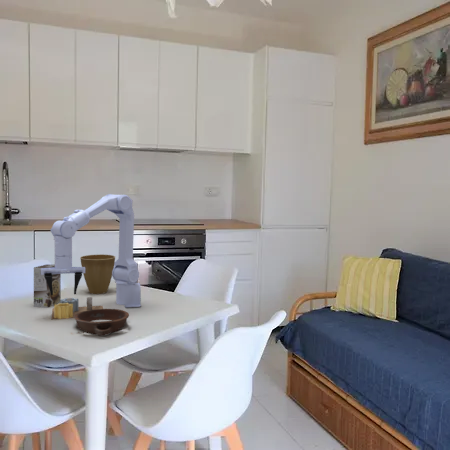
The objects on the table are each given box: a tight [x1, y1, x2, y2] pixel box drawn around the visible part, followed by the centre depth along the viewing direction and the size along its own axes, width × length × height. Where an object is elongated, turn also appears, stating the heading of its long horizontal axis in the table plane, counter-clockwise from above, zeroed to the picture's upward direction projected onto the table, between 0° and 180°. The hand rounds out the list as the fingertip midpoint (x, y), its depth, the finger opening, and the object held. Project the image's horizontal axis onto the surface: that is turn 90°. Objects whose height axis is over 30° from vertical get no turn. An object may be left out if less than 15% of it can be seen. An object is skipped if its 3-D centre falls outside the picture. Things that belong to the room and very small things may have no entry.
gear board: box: [50, 296, 104, 320], centre depth 175 cm, size 18×16×6 cm
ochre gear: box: [53, 303, 73, 320], centre depth 169 cm, size 6×6×4 cm
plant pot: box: [79, 253, 116, 295], centre depth 213 cm, size 15×15×16 cm
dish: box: [73, 308, 130, 337], centre depth 159 cm, size 17×22×5 cm
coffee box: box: [33, 264, 62, 309], centre depth 185 cm, size 9×6×16 cm
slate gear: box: [61, 297, 79, 312], centre depth 177 cm, size 6×6×4 cm
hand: (63, 294), depth 168 cm, fingers open, 7 cm apart
